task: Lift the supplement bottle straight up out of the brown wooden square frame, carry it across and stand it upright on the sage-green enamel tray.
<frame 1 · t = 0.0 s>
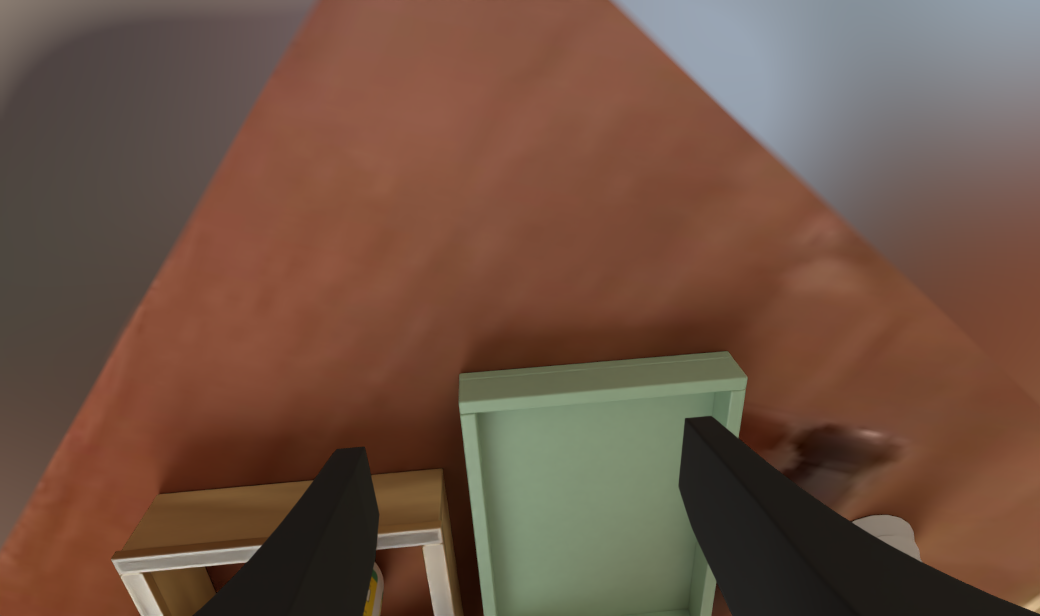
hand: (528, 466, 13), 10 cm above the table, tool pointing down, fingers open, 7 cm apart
brown wooden square frame: (329, 576, 29), on the table
supplement bottle: (330, 572, 29), resting in brown wooden square frame
chalice: (863, 546, 31), on the table
tray: (593, 506, 28), on the table
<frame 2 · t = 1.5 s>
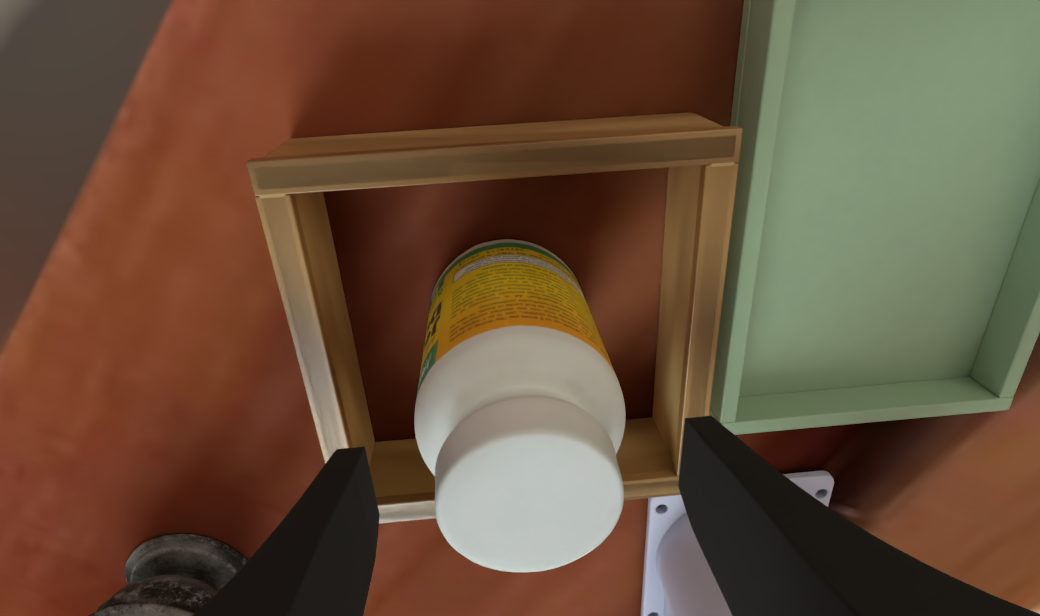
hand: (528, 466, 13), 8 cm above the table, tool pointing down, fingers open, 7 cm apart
brown wooden square frame: (506, 305, 21), on the table
supplement bottle: (506, 302, 21), resting in brown wooden square frame
tray: (881, 196, 20), on the table
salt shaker: (193, 573, 26), on the table
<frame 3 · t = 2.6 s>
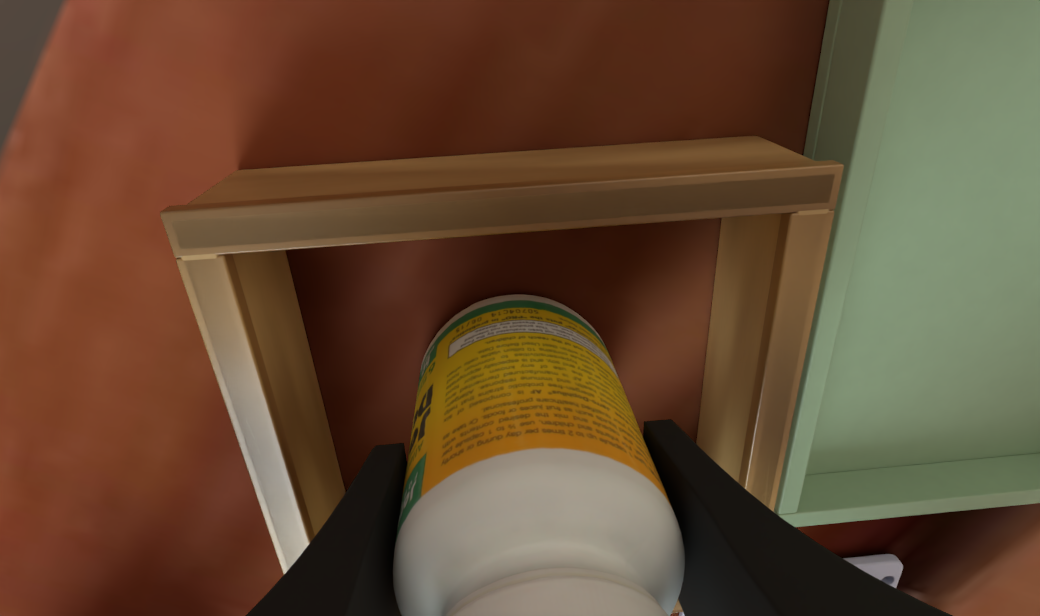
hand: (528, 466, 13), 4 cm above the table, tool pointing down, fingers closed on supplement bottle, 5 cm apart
brown wooden square frame: (515, 371, 17), on the table
supplement bottle: (514, 368, 17), resting in brown wooden square frame, touching gripper
tray: (986, 238, 16), on the table
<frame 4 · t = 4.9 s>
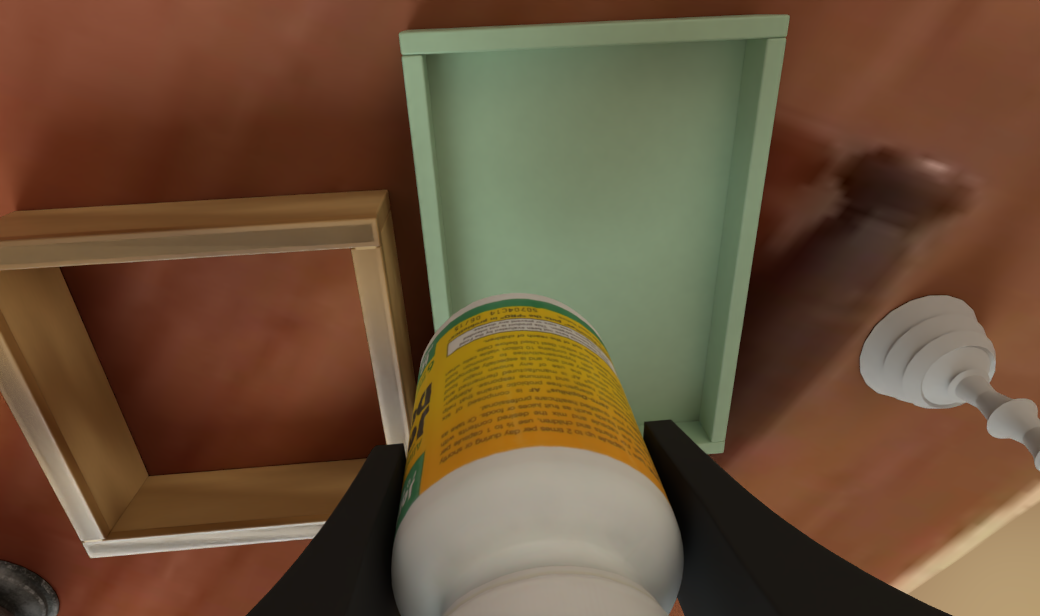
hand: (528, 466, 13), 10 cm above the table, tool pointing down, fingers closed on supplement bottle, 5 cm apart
brown wooden square frame: (249, 355, 23), on the table
supplement bottle: (513, 366, 17), point 6 cm above the table, touching gripper
chalice: (915, 345, 25), on the table
tray: (582, 261, 22), on the table
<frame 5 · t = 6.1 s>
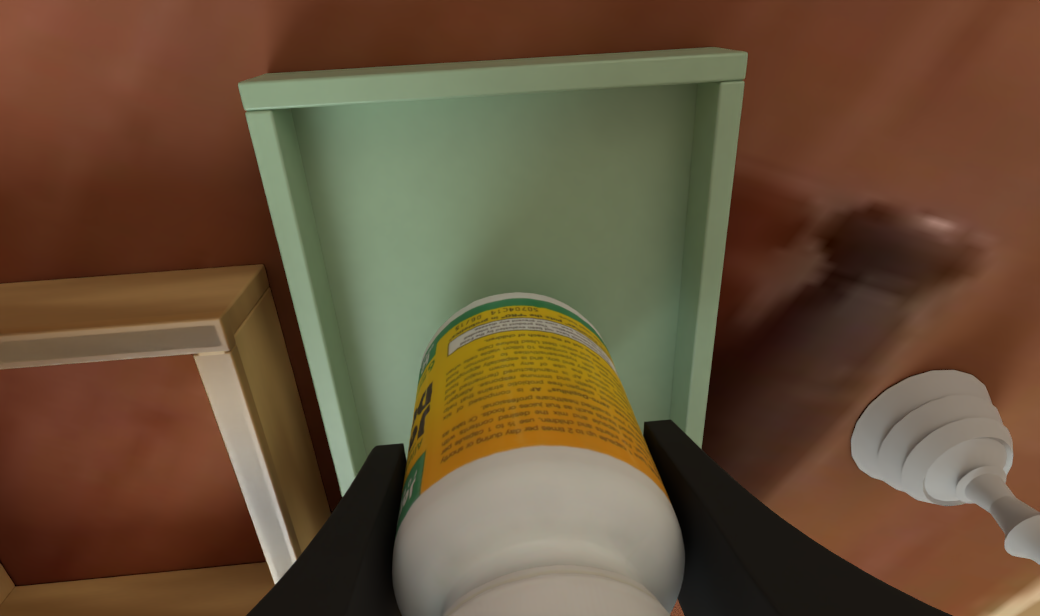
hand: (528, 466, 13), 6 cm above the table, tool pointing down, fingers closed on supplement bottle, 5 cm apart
brown wooden square frame: (117, 454, 19), on the table
supplement bottle: (514, 366, 17), point 2 cm above the table, touching gripper
chalice: (916, 425, 21), on the table
tray: (512, 341, 18), on the table
when the fingers open (4 cm above the table, at t = 7.1 s): supplement bottle stays where it is, resting on tray.
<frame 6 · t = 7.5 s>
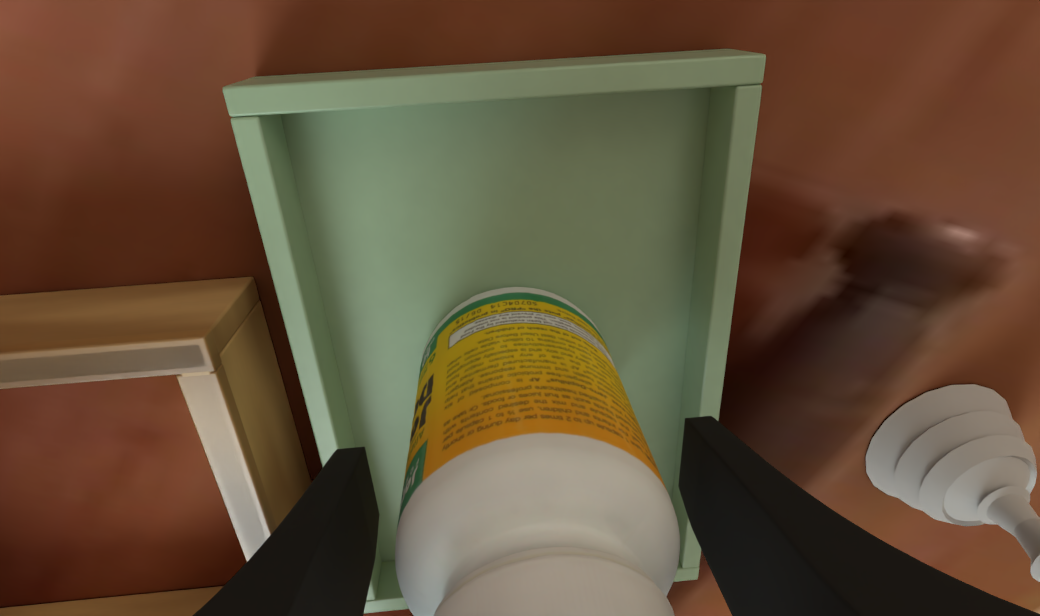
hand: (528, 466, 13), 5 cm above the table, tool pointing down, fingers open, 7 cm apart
brown wooden square frame: (102, 473, 18), on the table
supplement bottle: (513, 360, 17), resting on tray
chalice: (933, 440, 21), on the table
tray: (514, 356, 17), on the table
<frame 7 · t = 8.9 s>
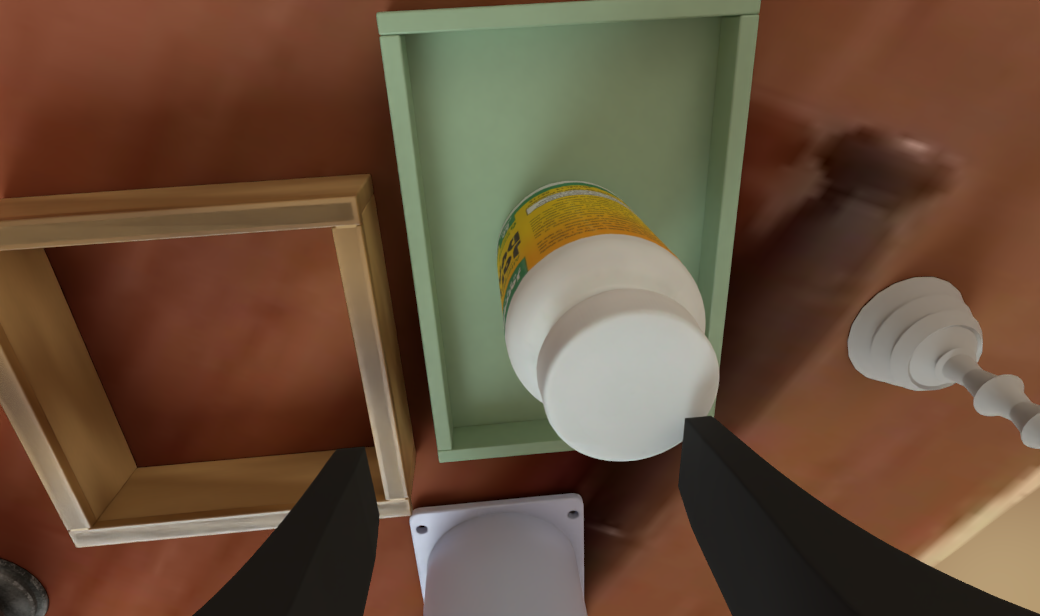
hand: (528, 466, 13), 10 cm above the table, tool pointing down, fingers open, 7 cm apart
brown wooden square frame: (236, 343, 23), on the table
supplement bottle: (566, 246, 22), resting on tray
chalice: (903, 329, 25), on the table
tray: (566, 245, 22), on the table
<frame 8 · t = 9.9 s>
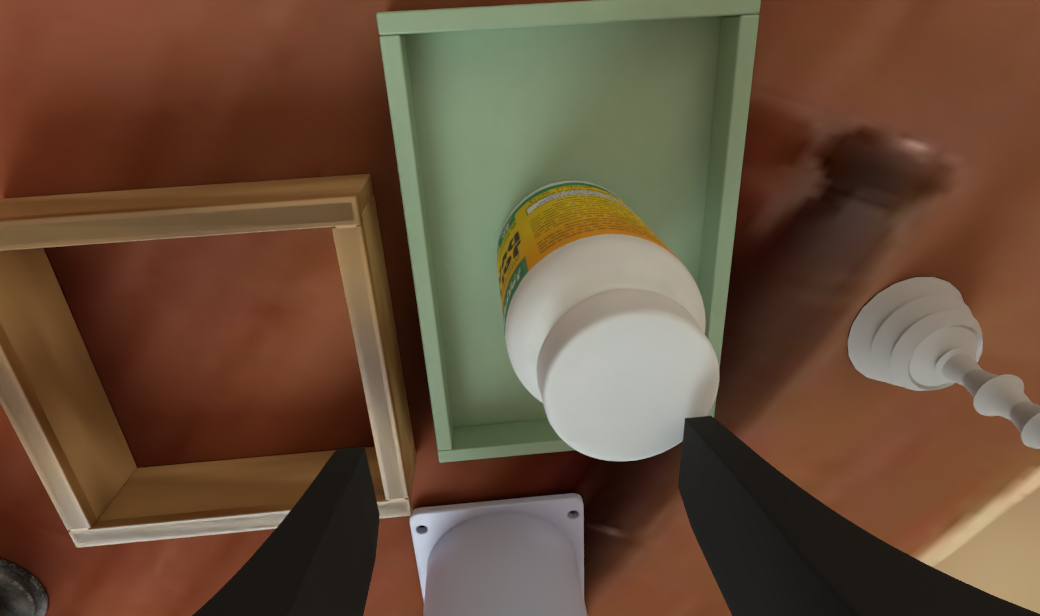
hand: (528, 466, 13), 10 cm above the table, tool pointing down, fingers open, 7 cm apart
brown wooden square frame: (236, 343, 23), on the table
supplement bottle: (566, 246, 22), resting on tray
chalice: (903, 329, 25), on the table
tray: (566, 245, 22), on the table
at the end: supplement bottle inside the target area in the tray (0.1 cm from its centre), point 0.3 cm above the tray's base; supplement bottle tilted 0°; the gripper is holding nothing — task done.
